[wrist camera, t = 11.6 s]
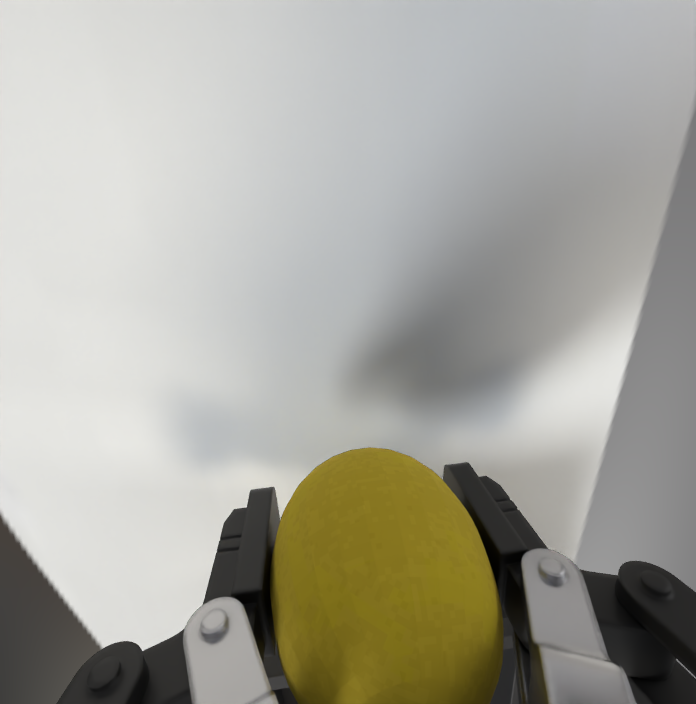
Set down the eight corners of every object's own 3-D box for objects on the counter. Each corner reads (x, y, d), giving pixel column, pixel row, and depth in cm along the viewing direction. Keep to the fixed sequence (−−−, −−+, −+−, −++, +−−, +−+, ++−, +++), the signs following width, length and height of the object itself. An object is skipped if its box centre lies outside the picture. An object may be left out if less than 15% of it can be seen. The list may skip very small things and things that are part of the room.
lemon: (443, 407, 13) (634, 655, 6) (416, 532, 15) (534, 850, 7) (283, 399, 12) (256, 678, 5) (275, 532, 14) (245, 891, 6)
